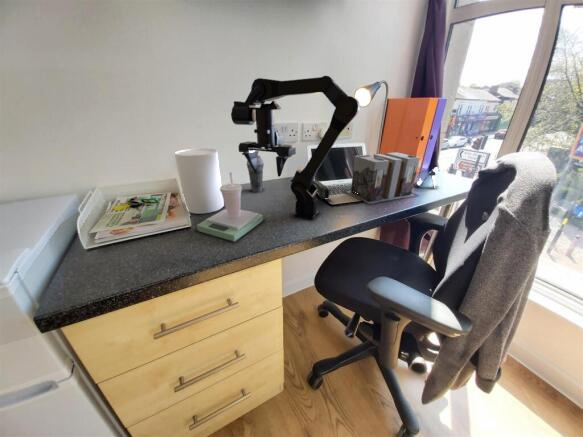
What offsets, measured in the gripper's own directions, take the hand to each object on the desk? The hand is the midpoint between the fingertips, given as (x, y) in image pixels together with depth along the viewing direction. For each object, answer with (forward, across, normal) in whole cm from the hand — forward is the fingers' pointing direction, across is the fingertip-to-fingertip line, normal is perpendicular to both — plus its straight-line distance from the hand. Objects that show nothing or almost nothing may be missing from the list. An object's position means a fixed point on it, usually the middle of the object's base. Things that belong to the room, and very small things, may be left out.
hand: (267, 174), depth 80 cm
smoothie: (+10, +4, +15) cm, 18 cm away
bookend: (+13, -34, -37) cm, 52 cm away
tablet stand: (+13, -52, -57) cm, 78 cm away
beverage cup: (+13, +16, -16) cm, 26 cm away
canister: (+13, +23, +8) cm, 28 cm away
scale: (+13, +4, +16) cm, 21 cm away
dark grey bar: (+13, -12, -22) cm, 28 cm away
